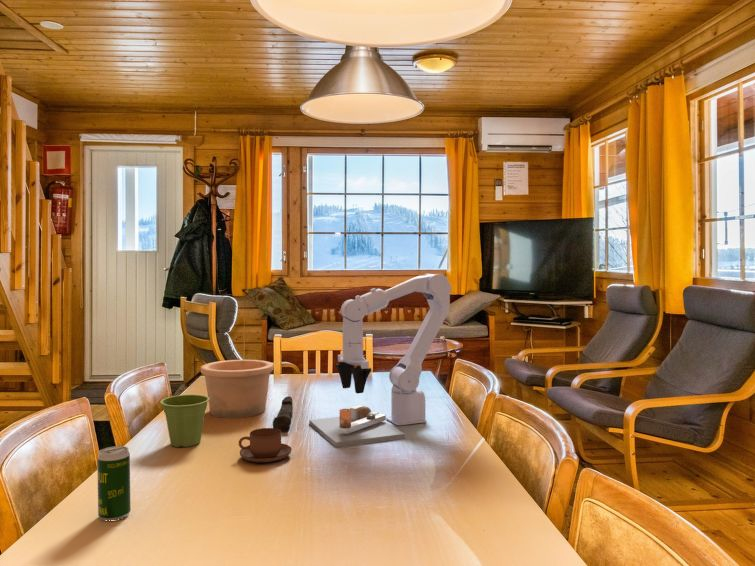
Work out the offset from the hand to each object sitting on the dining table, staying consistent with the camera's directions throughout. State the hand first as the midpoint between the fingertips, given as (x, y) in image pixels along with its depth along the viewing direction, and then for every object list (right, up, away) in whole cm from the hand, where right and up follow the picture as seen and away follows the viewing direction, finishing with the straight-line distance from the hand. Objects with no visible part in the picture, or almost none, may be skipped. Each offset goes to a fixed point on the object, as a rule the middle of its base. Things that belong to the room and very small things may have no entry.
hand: (352, 390), depth 166 cm
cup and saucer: (-19, -11, -27) cm, 35 cm away
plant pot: (-42, -11, -17) cm, 46 cm away
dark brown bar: (-20, -10, +4) cm, 23 cm away
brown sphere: (+3, -9, +2) cm, 10 cm away
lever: (+2, -8, -6) cm, 11 cm away
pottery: (-36, -10, +16) cm, 41 cm away
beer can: (-41, -12, -60) cm, 73 cm away
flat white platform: (+1, -10, -5) cm, 11 cm away
